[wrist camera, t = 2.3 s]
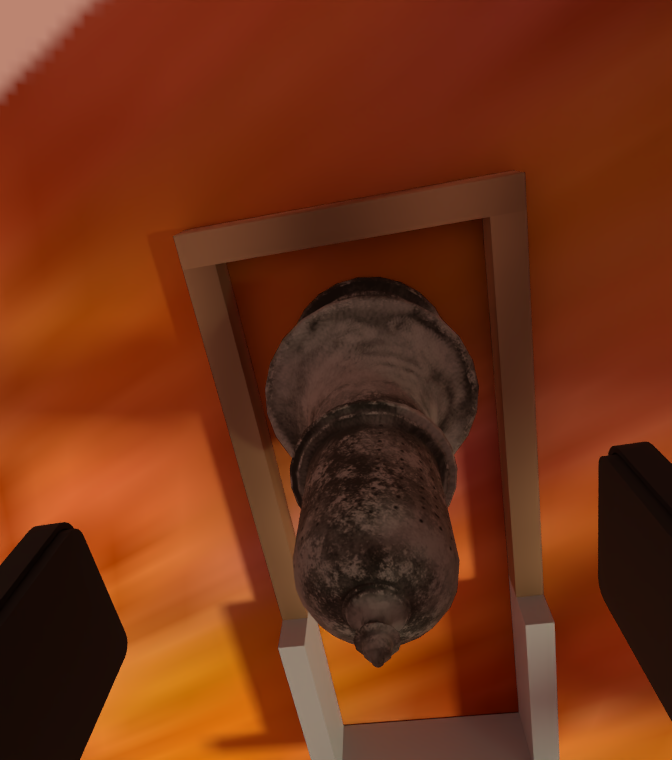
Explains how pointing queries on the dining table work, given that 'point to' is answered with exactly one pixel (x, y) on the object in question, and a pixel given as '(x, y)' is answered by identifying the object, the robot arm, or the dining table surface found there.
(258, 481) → the channel
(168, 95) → the dining table surface
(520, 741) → the socket
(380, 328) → the dark grey chess piece
